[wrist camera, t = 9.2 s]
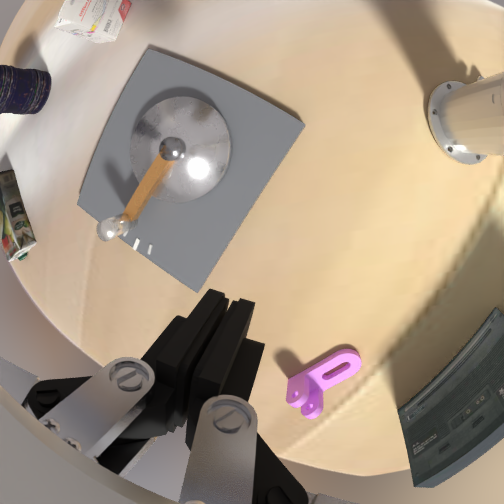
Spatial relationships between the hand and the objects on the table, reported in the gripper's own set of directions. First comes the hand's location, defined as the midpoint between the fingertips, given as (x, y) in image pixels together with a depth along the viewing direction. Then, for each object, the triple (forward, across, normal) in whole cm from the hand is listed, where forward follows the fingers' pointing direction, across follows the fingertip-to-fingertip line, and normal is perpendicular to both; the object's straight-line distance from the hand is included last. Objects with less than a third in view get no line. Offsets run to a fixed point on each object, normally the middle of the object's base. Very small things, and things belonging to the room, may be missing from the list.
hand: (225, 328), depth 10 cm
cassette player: (+30, -42, +21) cm, 56 cm away
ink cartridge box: (+29, +36, -26) cm, 53 cm away
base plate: (+28, +17, -1) cm, 33 cm away
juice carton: (+27, +59, +15) cm, 67 cm away
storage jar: (+28, +54, -13) cm, 63 cm away
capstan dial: (+26, +17, -1) cm, 31 cm away
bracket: (+29, -14, +26) cm, 42 cm away
